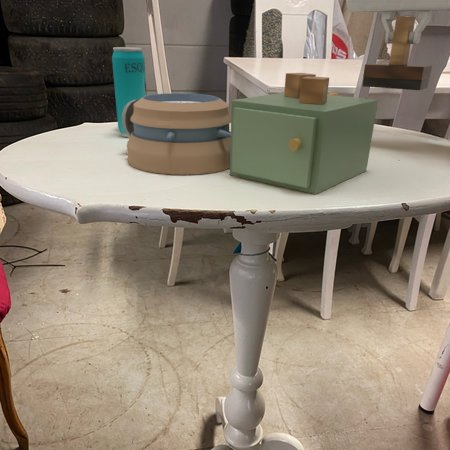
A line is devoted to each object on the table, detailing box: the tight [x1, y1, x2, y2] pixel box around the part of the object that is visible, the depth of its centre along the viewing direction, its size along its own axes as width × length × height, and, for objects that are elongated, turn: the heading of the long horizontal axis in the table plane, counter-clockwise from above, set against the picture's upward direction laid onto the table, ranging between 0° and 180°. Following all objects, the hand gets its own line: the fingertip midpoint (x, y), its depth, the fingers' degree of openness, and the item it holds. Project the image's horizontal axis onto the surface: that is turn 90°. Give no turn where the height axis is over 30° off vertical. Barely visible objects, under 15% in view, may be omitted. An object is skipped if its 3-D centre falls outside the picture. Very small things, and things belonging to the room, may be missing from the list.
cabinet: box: [229, 92, 379, 195], centre depth 66 cm, size 14×18×10 cm
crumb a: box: [299, 76, 330, 105], centre depth 61 cm, size 3×3×3 cm
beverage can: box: [111, 46, 148, 139], centre depth 87 cm, size 6×6×15 cm
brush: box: [362, 15, 433, 91], centre depth 78 cm, size 10×4×10 cm, turn 52°
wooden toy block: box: [283, 72, 317, 99], centre depth 66 cm, size 3×3×3 cm
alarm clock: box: [122, 92, 231, 176], centre depth 74 cm, size 17×9×23 cm
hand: (401, 43), depth 78 cm, fingers closed on brush, 2 cm apart
